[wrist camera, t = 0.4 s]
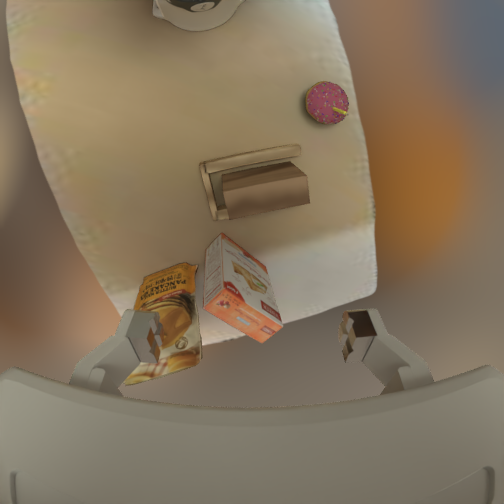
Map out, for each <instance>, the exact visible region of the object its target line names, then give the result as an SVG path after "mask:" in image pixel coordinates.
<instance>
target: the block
mask: <svg viewBox="0 0 504 504" xmlns="http://www.w3.org/2000/svg"><path fill="white" fill-rule="evenodd" d="M222 184H223V195H224V199H225V203H226V207H227V212H228V216H229V220H231V219H236V218H240V217H245V216H249V215H254V214H259V213H264V212H269V211H273V210H278V209H283V208H288V207H293V206H298V205H304V204H309V203H310V199H309V190H308V181H307V175H306V174H304V173H303V172H302V171H301V170H300V169H298V168H297V167H296V166H295V165H294V164H292V163H291V162H290V161H289V162H283V163H278V164H272V165H267V166H261V167H256V168H251V169H246V170H241V171H237V172H232V173H227V174H223V175H222Z"/></svg>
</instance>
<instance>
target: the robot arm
mask: <svg viewBox="0 0 504 504" xmlns="http://www.w3.org/2000/svg"><path fill="white" fill-rule="evenodd" d="M244 1H246V0H153V15H154V17H156V18H160V19H165V20H168V21H169V22H171V23H172V24H173V25H175V26H177V27H179V28H181V29H184V30H189V31H204V30H209V29H212V28H215V27H218V26H220V25H222V24H223V23H225V22H226V21H227V20H229V19H230V18H231V17H232V15H233V14H234V13H235V11H236V9H237V7H238V6H239V5H240V4H241V3H243V2H244ZM158 8H159V9H158ZM342 318H343V321H342V322H341V323H340V326H339V331H338V336H339V341H340V344H342V345H343V346H344V347H343V350H342V353H343V356H344V360H345V363H348V362H359V361H362V362H363V363H364V364H365V366H366V367H367V368H368V369H369V370H370V371H371V372H372V373H373V374H374V375H375V376H376V377H377V378H378V379H379V380H380V381H381V383H382V384H383V385H384V386H385V388H384V390H383V391H382V393H381V394H380V395H378V396H372V397H367V398H361V399H354V400H348V401H340V402H333V403H324V404H314V405H302V406H286V407H260V408H258V407H255V408H240V407H239V408H238V407H209V406H194V405H193V406H192V405H182V404H172V403H163V402H155V401H148V400H141V399H134V398H128V397H124V396H123V395H122V393H121V392H120V391H119V389H118V387H119V386H120V385H121V384H122V383H123V382H124V381H125V380H126V379H127V377H128V376H129V375H130V374H131V373H132V372H133V371H134V370H135V369H136V368H137V367H138V366H139V365H140V362H143V363H156V364H158V361H159V357H160V353H161V351H160V349H159V347H160V346H161V345H162V344H163V340H164V328H163V325H162V323H160V322H159V320H160V316H159V313H158V312H155V311H143V310H130V309H127V310H126V311H125V312H124V314H123V316H122V319H121V321H120V323H119V326H118V328H117V331H116V333H115V336H111V337H109V338H108V339H107V340H106V341H104V342H103V343H102V344H100V345H99V346H98V347H96V348H95V349H94V350H93V351H92V352H90V353H89V354H88V355H86V356H85V357H84V358H83V359H81V360H80V361H79V362H78V363H77V364H76V367H75V369H74V372H73V374H72V377H71V379H70V382H69V384H67V383H64V382H60V381H57V380H53V379H50V378H47V377H44V376H41V375H38V374H35V373H32V372H29V371H26V370H24V369H22V368H19V367H11V368H9V369H8V370H6V371H5V372H3V373H2V374H0V504H504V374H503V373H501V372H500V371H499V370H497V369H496V368H494V367H493V366H491V365H484V366H481V367H478V368H476V369H473V370H470V371H467V372H465V373H462V374H459V375H456V376H453V377H449V378H446V379H443V380H440V381H436V382H434V380H433V377H432V375H431V372H430V370H429V367H428V365H427V363H426V361H425V360H423V359H422V358H421V357H420V356H418V355H417V354H416V353H415V352H413V351H412V350H411V349H409V348H408V347H407V346H405V345H404V344H403V343H402V342H400V341H399V340H398V339H396V338H395V337H394V336H392V335H388V333H387V331H386V328H385V326H384V324H383V322H382V319H381V317H380V315H379V312H378V310H377V309H375V308H374V309H362V310H348V311H345V312H344V313H343V316H342Z"/></svg>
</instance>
